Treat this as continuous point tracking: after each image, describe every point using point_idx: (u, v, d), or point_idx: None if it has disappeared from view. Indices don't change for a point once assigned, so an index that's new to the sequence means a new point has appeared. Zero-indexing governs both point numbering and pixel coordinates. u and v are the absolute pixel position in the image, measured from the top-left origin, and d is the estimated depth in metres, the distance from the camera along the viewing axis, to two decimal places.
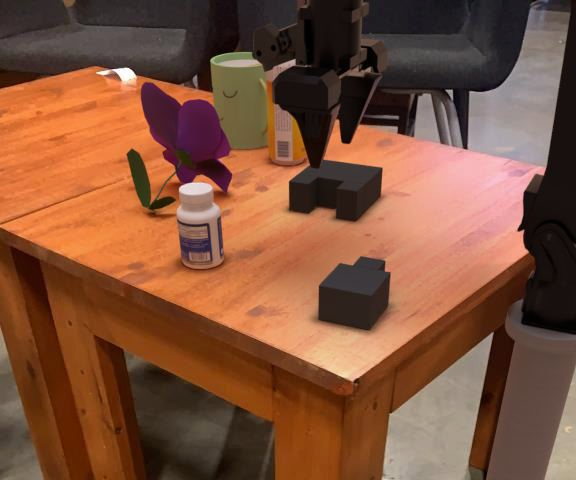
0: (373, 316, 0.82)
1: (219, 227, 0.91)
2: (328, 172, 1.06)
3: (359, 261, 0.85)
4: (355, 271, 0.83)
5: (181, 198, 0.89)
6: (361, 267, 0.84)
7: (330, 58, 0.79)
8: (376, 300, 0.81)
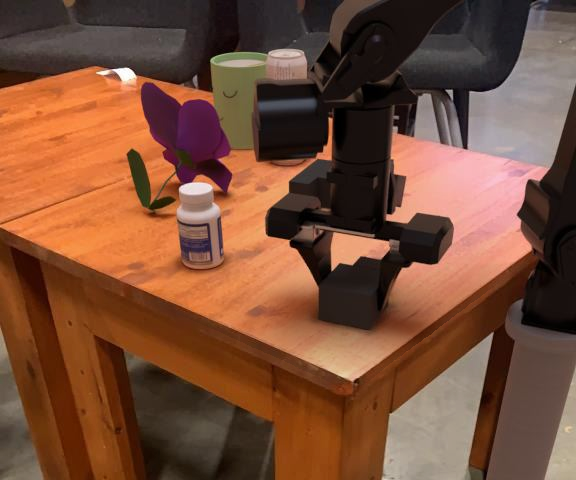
0: (373, 316, 0.82)
1: (219, 227, 0.91)
2: None
3: (359, 261, 0.85)
4: (355, 271, 0.83)
5: (181, 198, 0.89)
6: (361, 267, 0.84)
7: (330, 207, 0.77)
8: (376, 300, 0.81)
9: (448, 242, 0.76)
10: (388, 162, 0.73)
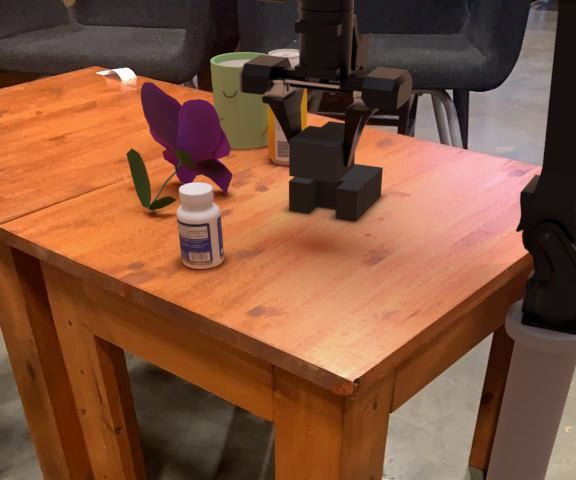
0: (339, 170, 0.88)
1: (219, 227, 0.91)
2: None
3: (327, 124, 0.92)
4: (323, 131, 0.90)
5: (181, 198, 0.89)
6: (329, 128, 0.91)
7: None
8: (342, 154, 0.88)
9: (407, 93, 0.83)
10: (351, 13, 0.79)
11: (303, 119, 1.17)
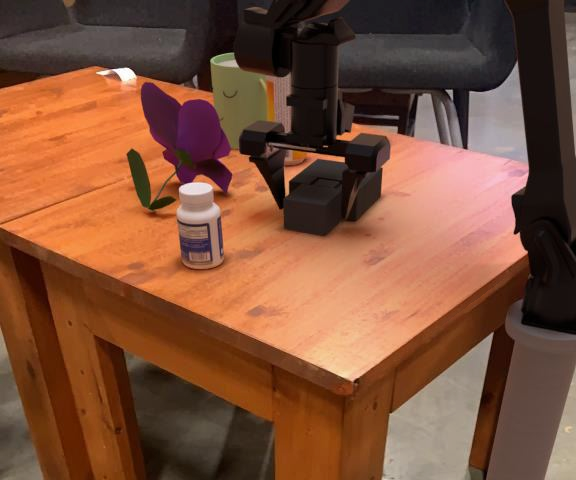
0: (328, 224, 1.00)
1: (219, 227, 0.91)
2: (328, 172, 1.06)
3: (317, 182, 1.03)
4: (314, 189, 1.02)
5: (181, 198, 0.89)
6: (319, 186, 1.02)
7: None
8: (330, 210, 0.99)
9: (385, 156, 0.94)
10: (335, 89, 0.91)
11: None
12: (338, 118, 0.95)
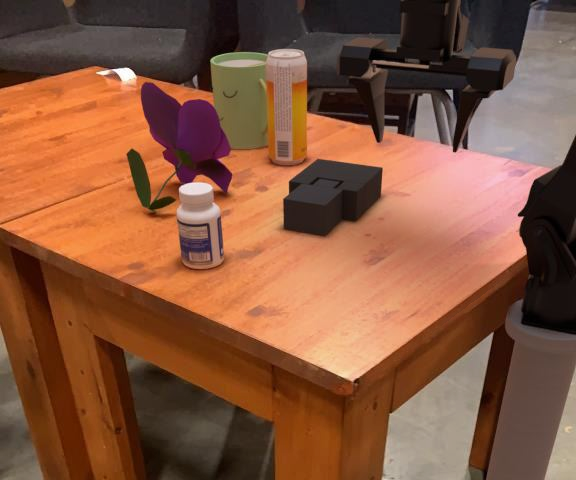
0: (328, 224, 1.00)
1: (219, 227, 0.91)
2: (328, 172, 1.06)
3: (317, 182, 1.03)
4: (314, 189, 1.02)
5: (181, 198, 0.89)
6: (319, 186, 1.02)
7: None
8: (330, 210, 0.99)
9: (511, 73, 0.81)
10: None
11: (303, 119, 1.17)
12: (455, 30, 0.82)
